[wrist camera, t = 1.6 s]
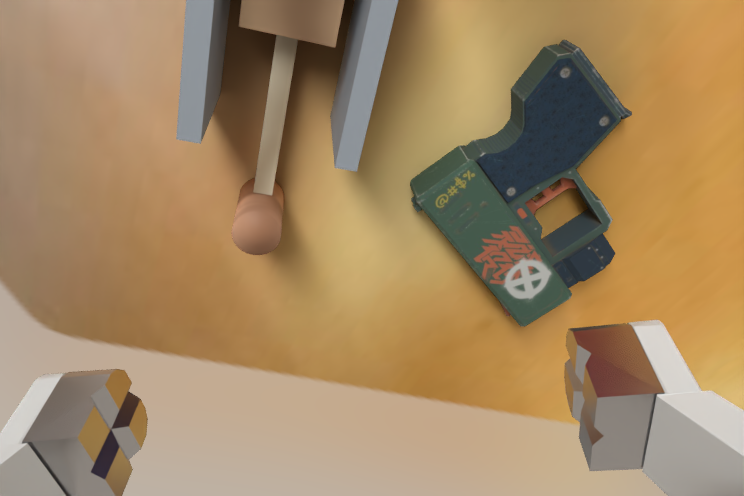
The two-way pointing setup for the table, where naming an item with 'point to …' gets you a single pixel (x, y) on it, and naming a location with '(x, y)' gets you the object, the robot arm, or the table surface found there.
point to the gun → (529, 186)
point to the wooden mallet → (277, 109)
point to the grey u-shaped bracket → (353, 86)
